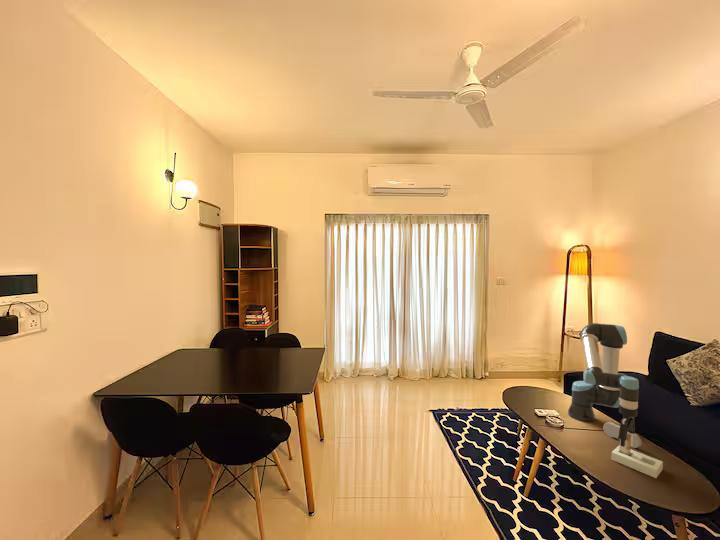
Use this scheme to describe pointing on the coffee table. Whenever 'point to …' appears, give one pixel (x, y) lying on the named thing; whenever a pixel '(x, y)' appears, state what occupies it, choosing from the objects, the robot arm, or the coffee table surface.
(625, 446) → the robot arm
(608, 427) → the grey flat oval slab
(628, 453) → the peg
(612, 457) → the socket block
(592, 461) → the coffee table surface
